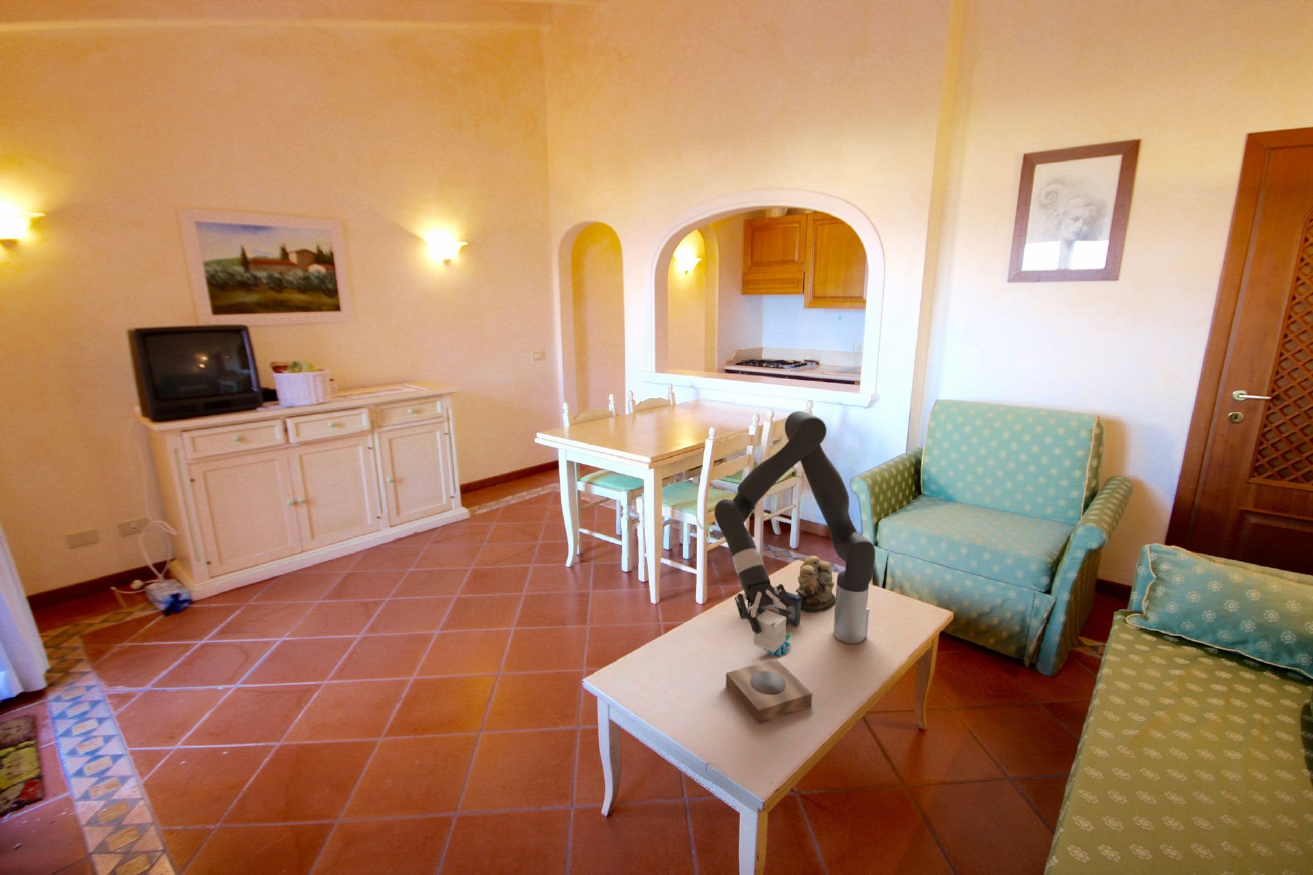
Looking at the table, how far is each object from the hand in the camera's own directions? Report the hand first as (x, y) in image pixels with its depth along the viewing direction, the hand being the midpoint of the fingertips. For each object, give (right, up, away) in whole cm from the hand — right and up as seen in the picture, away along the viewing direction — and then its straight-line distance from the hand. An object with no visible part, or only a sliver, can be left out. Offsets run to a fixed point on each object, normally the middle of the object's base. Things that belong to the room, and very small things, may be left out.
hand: (773, 629), depth 149 cm
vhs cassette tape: (+9, -11, +44) cm, 47 cm away
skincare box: (-1, -4, +2) cm, 5 cm away
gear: (+6, -15, +26) cm, 31 cm away
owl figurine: (+25, -8, +53) cm, 59 cm away
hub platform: (0, -19, +6) cm, 20 cm away
